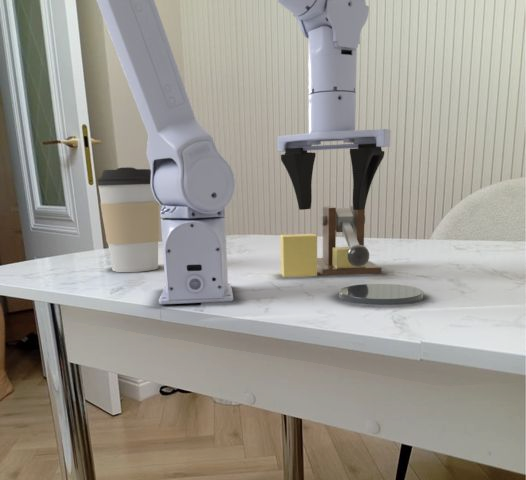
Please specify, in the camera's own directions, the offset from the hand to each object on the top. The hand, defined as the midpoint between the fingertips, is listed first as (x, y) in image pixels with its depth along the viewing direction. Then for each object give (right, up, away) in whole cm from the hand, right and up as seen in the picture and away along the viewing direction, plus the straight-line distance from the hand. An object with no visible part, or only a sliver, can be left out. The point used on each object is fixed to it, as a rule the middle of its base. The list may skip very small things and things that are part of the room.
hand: (331, 209), depth 75 cm
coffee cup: (-28, -6, +15) cm, 33 cm away
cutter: (+3, -6, +10) cm, 12 cm away
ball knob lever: (+3, -4, +5) cm, 7 cm away
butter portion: (-4, -8, +5) cm, 10 cm away
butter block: (+3, -6, +5) cm, 9 cm away
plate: (+4, -12, -11) cm, 17 cm away
